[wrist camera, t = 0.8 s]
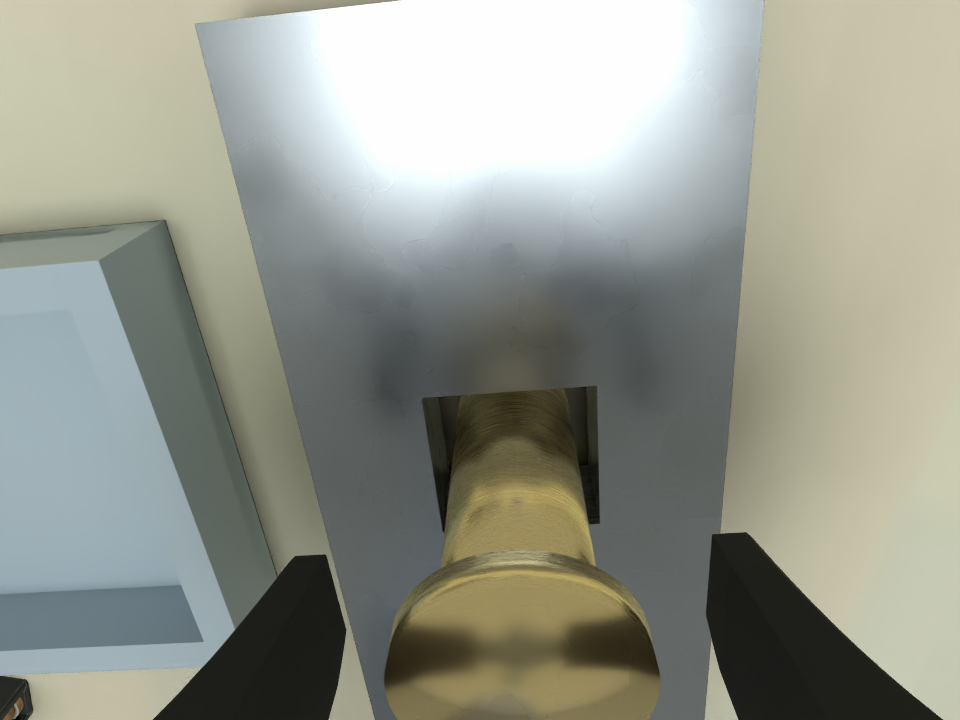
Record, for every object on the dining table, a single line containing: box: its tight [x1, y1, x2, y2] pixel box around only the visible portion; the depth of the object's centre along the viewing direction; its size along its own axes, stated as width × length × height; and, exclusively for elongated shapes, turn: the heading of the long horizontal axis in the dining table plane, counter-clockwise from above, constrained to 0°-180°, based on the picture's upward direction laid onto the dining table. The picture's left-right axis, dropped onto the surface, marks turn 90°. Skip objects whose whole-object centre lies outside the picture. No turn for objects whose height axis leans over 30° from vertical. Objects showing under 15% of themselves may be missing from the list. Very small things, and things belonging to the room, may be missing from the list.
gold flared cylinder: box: [384, 388, 660, 720], centre depth 15 cm, size 4×4×9 cm
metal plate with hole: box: [195, 0, 765, 720], centre depth 17 cm, size 20×10×2 cm, turn 6°
